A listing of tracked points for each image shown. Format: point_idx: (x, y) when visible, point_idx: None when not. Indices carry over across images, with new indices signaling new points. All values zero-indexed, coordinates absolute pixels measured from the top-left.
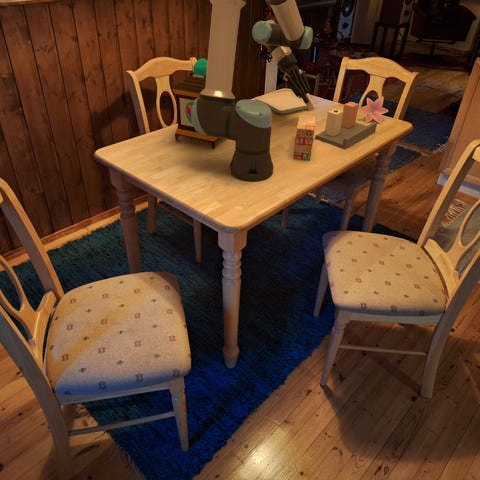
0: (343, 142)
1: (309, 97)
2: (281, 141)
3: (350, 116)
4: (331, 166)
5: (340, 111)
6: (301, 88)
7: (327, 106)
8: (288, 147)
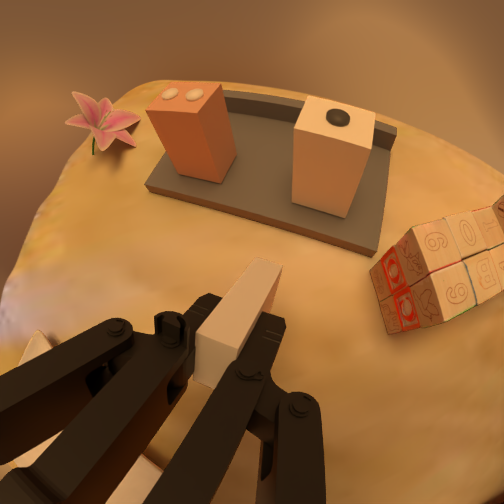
0: (392, 144)
1: (239, 311)
2: (454, 370)
3: (227, 119)
4: (485, 175)
5: (320, 103)
6: (229, 433)
7: (30, 291)
8: (480, 322)
